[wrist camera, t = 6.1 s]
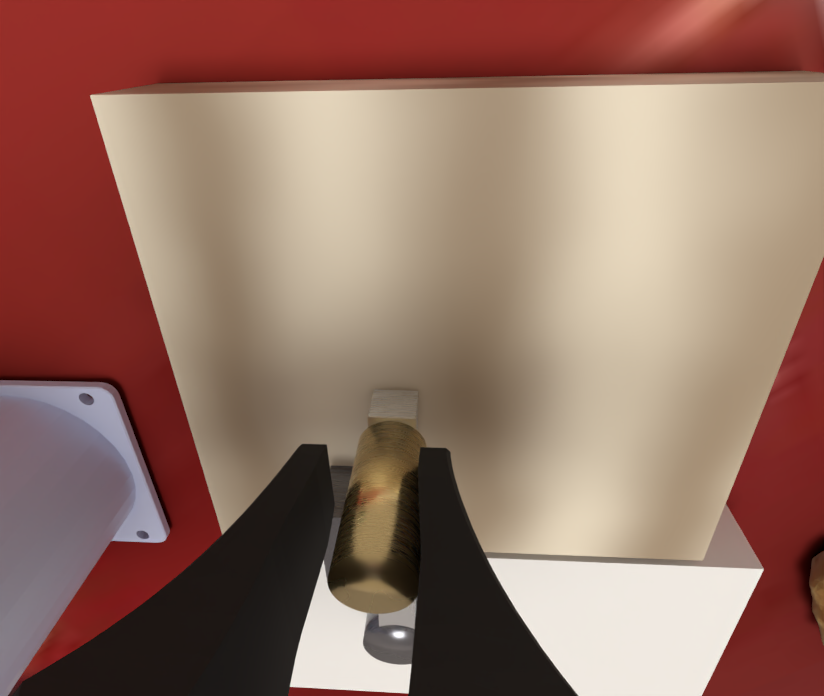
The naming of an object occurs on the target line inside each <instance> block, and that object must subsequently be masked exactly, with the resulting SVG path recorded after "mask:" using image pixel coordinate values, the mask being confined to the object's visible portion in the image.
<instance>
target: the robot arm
mask: <svg viewBox="0 0 824 696" xmlns="http://www.w3.org/2000/svg"><path fill="white" fill-rule="evenodd" d="M87 394H89V395H90V396H92V398H91V397H89V396H88V395H87ZM418 501H419V527H420V555H421V559H420V572H419V585H418V597H417V609H416V620H415V632H414V642H413V653H412V664H411V674H410V684H409V694H408V696H578V695H577V693H576V692H575V691H574V690H573V688H572V687H571V686H570V685H569V683H568V682H567V681H566V680H565V678H564V677H563V676H562V674H561V673H560V672H559V670H558V669H557V668H556V666H555V665H554V664H553V662H552V661H551V660H550V658H549V657H548V656H547V654H546V653H545V652H544V650H543V649H542V648H541V646H540V645H539V643H538V642H537V640H536V639H535V637H534V636H533V634H532V633H531V631H530V630H529V628H528V627H527V625H526V624H525V622H524V621H523V619H522V618H521V616H520V615H519V613H518V612H517V610H516V609H515V607H514V605H513V604H512V602H511V600H510V599H509V597H508V595H507V594H506V592H505V590H504V589H503V587H502V585H501V583H500V582H499V580H498V578H497V576H496V574H495V573H494V571H493V569H492V567H491V565H490V563H489V561H488V559H487V557H486V555H485V553H484V551H483V549H482V547H481V545H480V543H479V540H478V538H477V536H476V534H475V532H474V529H473V527H472V525H471V522H470V520H469V517H468V515H467V512H466V509H465V507H464V504H463V502H462V499H461V496H460V493H459V490H458V486H457V483H456V480H455V476H454V472H453V467H452V461H451V452H450V451H449V450H448V449H447V448H431V447H420V454H419V463H418ZM334 507H335V502H334V494H333V487H332V479H331V472H330V465H329V457H328V450H327V444H301V445H300V446H299V447H298V448H297V449H296V451H295V452H294V453H293V454H292V456H291V457H290V458H289V460H288V461H287V462H286V463H285V465H284V466H283V467H282V468H281V470H280V471H279V472H278V473H277V475H276V476H275V477H274V478H273V479H272V481H271V482H270V483H269V484H268V485H267V487H266V488H265V489H264V490H263V491H262V492H261V493H260V495H259V496H258V497H257V498H256V499H255V500H254V502H253V503H252V504H251V505H250V506H249V507H248V508H247V509H246V511H245V512H244V513H243V514H242V515H241V516H240V517H239V518H238V519H237V520H236V521H235V522H234V523H233V524H232V525H231V526H230V527H229V528H228V529H227V530H226V531H225V533H224V534H223V535H222V536H221V537H220V538H219V539H218V540H217V541H216V542H215V543H213V544H212V545H211V546H210V547H209V548H208V549H207V550H206V551H205V552H204V553H203V554H202V555H201V556H200V557H199V558H197V559H196V560H195V561H194V562H193V563H192V564H191V565H190V566H188V567H187V568H186V569H185V570H184V571H183V572H182V573H180V574H179V575H178V576H177V577H176V578H174V579H173V580H172V581H171V582H169V583H168V584H167V585H166V586H165V587H163V588H162V589H161V590H160V591H159V592H157V593H156V594H155V595H153V596H152V597H151V598H150V599H148V600H147V601H146V602H144V603H143V604H142V605H140V606H139V607H138V608H136V609H135V610H134V611H132V612H131V613H129V614H128V615H127V616H125V617H124V618H122V619H121V620H120V621H118V622H117V623H115V624H114V625H112V626H111V627H110V628H108V629H107V630H105V631H104V632H102V633H101V634H99V635H98V636H96V637H95V638H93V639H92V640H90V641H89V642H87V643H86V644H84V645H83V646H81V647H80V648H78V649H76V650H75V651H73V652H71V653H70V654H68V655H66V656H65V657H63V658H61V659H60V660H58V661H57V662H55V663H53V664H52V665H50V666H48V667H47V668H45V669H43V670H42V671H40V672H38V673H37V674H35V675H33V676H32V677H30V678H28V679H26V680H25V681H23V682H22V684H21V685H20V686H19V688H18V689H17V690H16V692H15V693H14V694H13V696H288V693H289V688H290V683H291V678H292V673H293V668H294V663H295V658H296V653H297V650H298V646H299V642H300V638H301V634H302V631H303V627H304V624H305V621H306V617H307V614H308V611H309V607H310V604H311V600H312V597H313V594H314V590H315V587H316V584H317V580H318V577H319V574H320V570H321V567H322V564H323V560H324V557H325V553H326V550H327V546H328V542H329V536H330V531H331V525H332V519H333V513H334ZM169 533H170V529H169V526H168V523H167V521H166V518H165V515H164V513H163V510H162V507H161V504H160V502H159V499H158V496H157V494H156V491H155V488H154V486H153V483H152V480H151V478H150V475H149V472H148V470H147V467H146V464H145V462H144V459H143V456H142V454H141V451H140V448H139V446H138V443H137V440H136V438H135V435H134V432H133V430H132V427H131V424H130V421H129V419H128V416H127V413H126V411H125V408H124V405H123V403H122V400H121V397H120V395H119V393H118V391H117V390H116V389H115V388H114V387H113V386H112V385H110V384H108V383H103V382H69V381H17V380H0V696H8V694H9V693H10V691H11V690H12V688H13V687H14V685H15V684H16V682H17V681H18V679H19V678H20V676H21V675H22V673H23V672H24V670H25V669H26V667H27V666H28V664H29V663H30V661H31V660H32V658H33V657H34V655H35V654H36V652H37V651H38V649H39V648H40V646H41V645H42V643H43V642H44V640H45V639H46V637H47V636H48V634H49V633H50V631H51V630H52V628H53V627H54V625H55V624H56V622H57V621H58V620H59V618H60V617H61V615H62V614H63V612H64V611H65V609H66V608H67V606H68V605H69V603H70V602H71V600H72V599H73V597H74V596H75V594H76V593H77V591H78V590H79V588H80V587H81V585H82V584H83V582H84V581H85V579H86V578H87V576H88V575H89V573H90V572H91V570H92V569H93V567H94V566H95V564H96V563H97V561H98V560H99V558H100V557H101V555H102V554H103V552H104V551H105V549H106V548H107V546H108V545H109V543H110V542H111V541H130V542H155V543H158V542H163V541H165V540H166V538H167V536H168V535H169Z"/></svg>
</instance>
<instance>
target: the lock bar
mask: <svg viewBox="0 0 824 696" xmlns="http://www.w3.org/2000/svg"><path fill="white" fill-rule="evenodd" d="M368 426H369V427H368V428H367V429H366V430H365V431H364V432H363V433H362V434H361V436H360V438H359V442H358V446H357V451H356V455H355V459H354V464H353V468H352V473H351V477H350V482H349V486H348V490H347V495H346V499H345V504H344V508H343V512H342V517H341V521H340V526H339V530H338V534H337V539H336V543H335V548H334V552H333V556H332V561H331V565H330V570H329V574H328V579H327V583H328V587H329V590H330V592H331V593H332V595H333V596H334V597H335V598H336V599H337V600H338V601H339V602H341V603H342V604H344V605H346V606H347V607H350V608H352V609H354V610H357V611H361V612H365V613H367V617H366V624H365V631H364V638H363V646H364V648H365V650H366V651H367V652H368V654H370V655H371V656H372V657H374V658H376V659H377V660H380V661H382V662H386V663H390V664H397V665H406V664H412V653H413V642H414V632H415V620H416V609H417V595H418V585H419V572H420V559H421V555H420V527H419V501H418V463H419V454H420V447H427V445H426V442H425V439H424V438H423V436H422V435H421V434H420V433H419V432H418V391H405V390H378V389H374V392H373V396H372V401H371V405H370V410H369V415H368Z"/></svg>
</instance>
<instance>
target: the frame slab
mask: <svg viewBox="0 0 824 696" xmlns="http://www.w3.org/2000/svg"><path fill="white" fill-rule="evenodd" d="M484 553H485V555H486V557H487V559H488V561H489V563H490V565H491V567H492V569H493V571H494V573H495V574H496V576H497V578H498V580H499V582H500V583H501V585H502V587H503V589H504V590H505V592H506V594H507V595H508V597H509V599H510V600H511V602H512V604H513V605H514V607H515V609H516V610H517V612H518V613H519V615H520V616H521V618H522V619H523V621H524V622H525V624H526V625H527V627H528V628H529V630H530V631H531V633H532V634H533V636H534V637H535V639H536V640H537V642H538V643H539V645H540V646H541V648H542V649H543V650H544V652H545V653H546V654H547V656H548V657H549V658H550V660H551V661H552V662H553V664H554V665H555V666H556V668H557V669H558V670H559V672H560V673H561V674H562V676H563V677H564V678H565V680H566V681H567V682H568V683H569V685H570V686H571V687H572V688H573V690H574V691H575V692H576V693H577V695H578V696H702V694H703V692H704V690H705V688H706V686H707V684H708V682H709V680H710V678H711V675H712V673H713V671H714V669H715V667H716V665H717V663H718V661H719V659H720V657H721V655H722V653H723V651H724V649H725V647H726V645H727V643H728V641H729V639H730V637H731V635H732V633H733V631H734V629H735V627H736V625H737V623H738V621H739V619H740V617H741V615H742V613H743V611H744V609H745V606H746V604H747V602H748V600H749V598H750V596H751V594H752V592H753V590H754V588H755V586H756V584H757V582H758V580H759V578H760V576H761V574H762V572H763V570H764V568H763V567H762V565H761V563H760V562H759V560H758V558H757V556H756V555H755V553H754V551H753V550H752V548H751V546H750V544H749V543H748V541H747V539H746V538H745V536H744V534H743V532H742V531H741V529H740V527H739V526H738V524H737V522H736V520H735V519H734V517H733V515H732V513H731V512H730V510H729V508H728V507H727V505H726V504H725V506H724V509H723V511H722V514H721V516H720V519H719V521H718V524H717V526H716V529H715V531H714V534H713V537H712V539H711V542H710V544H709V547H708V549H707V552H706V554H705V557H704V559H703V561H699V560H674V559H648V558H623V557H597V556H572V555H546V554H521V553H495V552H484ZM417 597H418V595H417ZM366 617H367V613H365V612H361V611H357V610H354V609H352V608H350V607H347V606H346V605H344V604H342V603H341V602H339V601H338V600H337V599H336V598H335V597H334V596H333V595H332V593H331V592H330V590H329V587H328V583H327V577H326V571H325V565H324V560H323V564H322V567H321V570H320V574H319V577H318V580H317V584H316V587H315V590H314V594H313V597H312V600H311V604H310V607H309V611H308V614H307V617H306V621H305V624H304V627H303V631H302V634H301V638H300V642H299V646H298V650H297V653H296V658H295V663H294V668H293V673H292V678H291V683H290V687H306V688H323V689H341V690H358V691H376V692H393V693H409V684H410V674H411V664H406V665H397V664H390V663H386V662H382V661H380V660H377V659H376V658H374V657H372V656H371V655H370V654H368V652H367V651H366V650H365V648H364V646H363V638H364V631H365V624H366Z"/></svg>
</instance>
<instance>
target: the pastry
mask: <svg viewBox="0 0 824 696" xmlns="http://www.w3.org/2000/svg"><path fill="white" fill-rule="evenodd" d="M809 585H810V588H811V595H812V597H813V600H812V612H813V614H814V615H815V618H816V620H817V622H818V625H819V629H820V635H821V639H822V642H823V644H824V551H822V552H821V553H819V554H818V555H816V556H815V557H814V558H813V559H812V563H811V573H810V579H809Z"/></svg>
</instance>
